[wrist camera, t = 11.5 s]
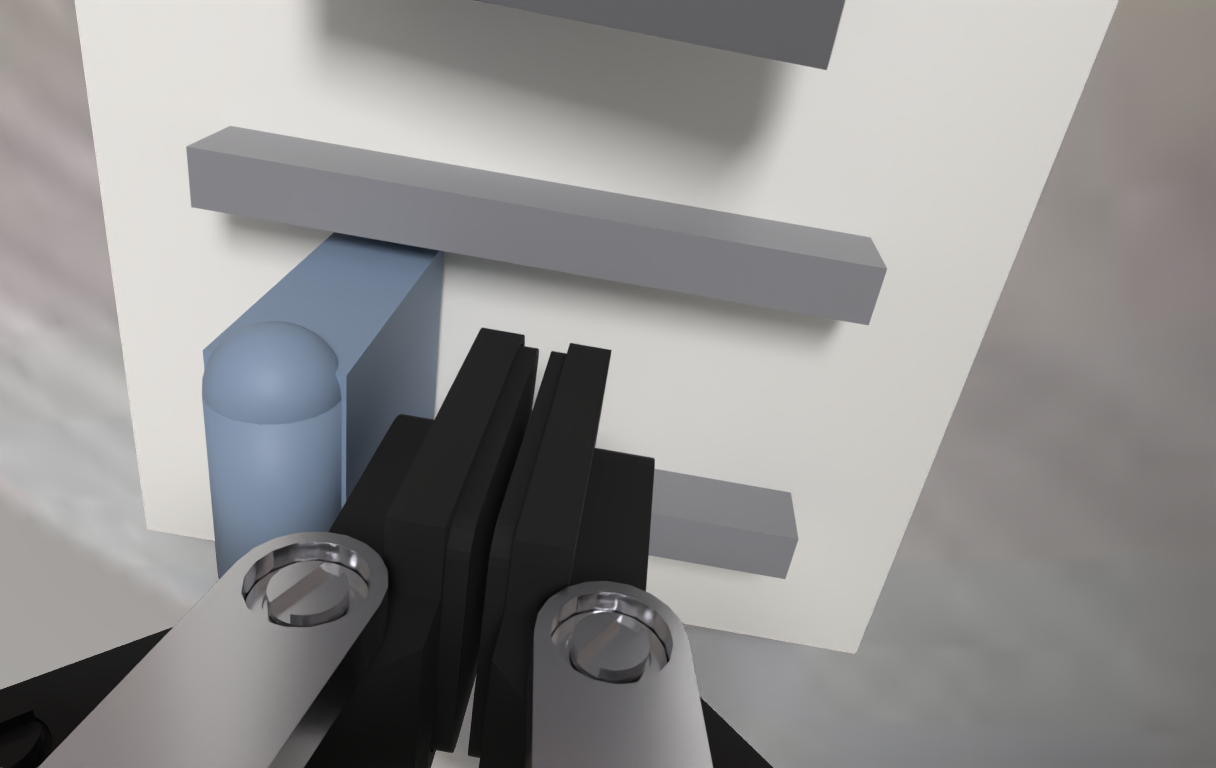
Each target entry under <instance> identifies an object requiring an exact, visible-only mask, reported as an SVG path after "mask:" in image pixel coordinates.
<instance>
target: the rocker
mask: <svg viewBox="0 0 1216 768" xmlns="http://www.w3.org/2000/svg"><path fill="white" fill-rule="evenodd" d="M475 1H480V2H485V3H490V4H495V5H500V6H505V7H510V8H515V9H520V10H525V11H530V12H535V13H540V14H545V15H550V16H556V17H561V18H566V19H571V20H576V21H581V22H586V23H591V24H596V25H601V26H606V27H611V28H616V29H621V30H626V31H631V32H636V33H641V34H646V35H651V36H657V37H662V38H667V39H672V40H677V41H682V42H687V43H692V44H697V45H702V46H707V47H712V48H717V49H722V50H727V51H732V52H737V53H742V54H747V55H752V56H758V57H763V58H768V59H773V60H778V61H783V62H788V63H793V64H798V65H803V66H808V67H813V68H818V69H823V70H827V68H828V65H829V61H830V58H831V55H832V51H833V47H834V43H835V40H836V36H837V32H838V28H839V24H840V20H841V17H842V13H843V9H844V5H845V1H846V0H475Z"/></svg>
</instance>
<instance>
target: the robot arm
mask: <svg viewBox="0 0 1216 768" xmlns="http://www.w3.org/2000/svg"><path fill="white" fill-rule="evenodd" d="M611 351H612V350H609V349H603V348H597V347H591V346H586V345H580V344H574V343H570V345H569V348H568V351H567V353H561V352H555V351H551V354H550V357H549V360H548V363H547V366H546V369H545V372H544V376H543V379H542V382H541V385H540V388H539V391H538V394H537V397H536V400H535V404H534V407H533V399H534V391H535V383H536V375H537V367H538V359H539V349H538V348H532V347H527V346H525V335H522V334H517V333H511V332H505V331H499V330H494V329H488V328H481V329H480V331H479V333H478V335H477V337H476V339H475V341H474V343H473V345H472V347H471V349H470V351H469V352H468V354H467V356H466V358H465V360H464V362H463V364H462V366H461V368H460V370H459V372H458V374H457V376H456V378H455V380H454V382H453V384H452V386H451V388H450V390H449V392H448V394H447V396H446V398H445V400H444V402H443V404H442V406H441V408H440V410H439V412H438V414H437V416H436V417H435V419H434V420H433V419H428V418H422V417H416V416H411V415H405V414H400V415H398V416H397V417H396V418H395V420H394V421H393V423H392V424H391V426H390V428H389V429H388V431H387V433H386V435H385V436H384V438H383V440H382V441H381V443H380V445H379V446H378V448H377V450H376V452H375V453H374V455H373V457H372V458H371V460H370V462H369V464H368V465H367V467H366V469H365V470H364V472H363V474H362V475H361V477H360V479H359V481H358V482H357V484H356V486H355V487H354V489H353V491H352V493H351V494H350V496H349V498H348V499H347V501H346V503H345V504H344V506H343V508H342V510H341V511H340V513H339V515H338V516H337V518H336V520H335V522H334V523H333V525H332V527H331V528H330V530H329V532H299V533H295V534H290V535H286V536H282V537H277V538H274V539H272V540H270V541H268V542H266V543H263V544H261V545H259V546H257V547H255V548H253V549H252V550H251V551H249V552H248V553H247V554H246V555H244V556H243V557H242V558H240V559H239V560H238V561H237V562H236V563H235V564H234V565H233V566H232V567H231V568H230V569H229V570H228V571H227V572H226V573H225V574H224V575H223V576H222V577H221V578H220V579H219V580H218V581H217V582H216V584H215V585H214V586H213V587H212V588H211V589H210V590H209V591H208V592H207V593H206V594H205V595H204V596H203V597H202V598H201V599H200V600H199V601H198V602H197V603H196V604H195V605H194V606H193V607H192V608H191V609H190V610H189V612H188V613H187V614H186V615H185V616H184V617H183V618H182V619H181V620H180V621H179V622H178V623H177V624H176V625H175V626H174V627H172V628H169V629H166V630H164V631H161V632H158V633H155V634H153V635H150V636H147V637H144V638H142V639H139V640H136V641H133V642H131V643H128V644H125V645H122V646H120V647H117V648H114V649H112V650H109V651H106V652H103V653H100V654H98V655H95V656H92V657H89V658H86V659H84V660H81V661H79V662H75V663H73V664H70V665H67V666H64V667H62V668H59V669H56V670H53V671H51V672H48V673H45V674H43V675H40V676H37V677H34V678H31V679H29V680H26V681H23V682H21V683H18V684H15V685H12V686H9V687H7V688H4V689H1V690H0V768H431V765H432V762H433V758H434V755H435V752H436V750H439V751H444V752H450V753H453V752H454V749H455V747H456V743H457V740H458V737H459V733H460V730H461V726H462V722H463V719H464V715H465V712H466V708H467V705H468V701H469V698H470V694H471V691H472V687H473V684H474V680H475V677H476V684H475V693H474V702H473V711H472V721H471V730H470V739H469V748H468V756H473V757H479V758H480V764H479V768H773V767H772V766H771V765H770V764H769V763H768V762H767V761H766V760H765V759H764V758H763V757H762V756H761V755H760V754H758V753H757V752H756V751H755V750H754V749H753V748H752V747H751V746H750V745H749V744H748V743H747V742H746V741H745V740H744V739H743V738H742V737H741V736H740V735H739V734H738V733H737V732H736V731H735V730H734V729H733V728H732V727H731V726H730V725H729V724H728V723H727V722H725V721H724V720H723V719H722V718H721V717H720V716H719V715H718V714H717V713H716V712H715V711H714V710H713V709H712V708H711V707H710V706H709V705H708V704H707V703H706V702H705V701H704V700H703V699H702V698H701V697H700V696H699V691H698V685H697V680H696V675H695V670H694V664H693V659H692V654H691V648H690V643H689V639H688V636H687V634H686V631H685V629H684V626H683V624H682V622H681V620H680V619H679V618H678V617H677V616H676V614H675V613H674V612H673V611H672V610H671V608H670V607H669V606H668V605H666V604H665V603H663V602H662V601H661V600H659V599H658V598H656V597H655V596H654V595H652V594H651V593H648V592H646V585H647V570H648V556H649V542H650V527H651V513H652V498H653V484H654V470H655V459H654V458H651V457H646V456H640V455H634V454H628V453H623V452H617V451H611V450H606V449H600V448H595V445H596V440H597V434H598V428H599V422H600V416H601V410H602V404H603V399H604V393H605V387H606V381H607V375H608V369H609V363H610V358H611ZM532 407H533V410H532ZM476 673H477V675H476Z"/></svg>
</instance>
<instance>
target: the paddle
mask: <svg viewBox="0 0 1216 768" xmlns="http://www.w3.org/2000/svg"><path fill="white" fill-rule="evenodd" d="M443 258H444V251H439V250H434V249H428V248H422V247H416V246H411V245H405V244H399V243H394V242H388V241H382V240H376V239H371V238H365V237H359V236H354V235H348V234H342V233H336V232H334V233H332V234H331V235H330V236H329V237H328V238H327V239H326V240H325V241H324V242H322V243H321V244H320V245H319V246H318V247H317V248H316V249H315V250H314V251H312V252H311V253H310V254H309V255H308V256H307V257H306V258H305V259H304V260H302V261H301V262H300V263H299V264H298V265H297V266H296V267H295V268H294V269H292V270H291V271H290V272H289V273H288V274H287V275H286V276H285V277H284V278H282V279H281V280H280V281H279V282H278V283H277V284H276V285H275V286H274V287H272V288H271V289H270V290H269V291H268V292H267V293H266V294H265V295H264V296H262V297H261V298H260V299H259V300H258V301H257V302H256V303H255V304H254V305H252V306H251V307H250V308H249V309H248V310H247V311H246V312H245V313H244V314H242V315H241V316H240V317H239V318H238V319H237V320H236V321H235V322H234V323H232V324H231V325H230V326H229V327H228V328H227V329H226V330H225V331H224V332H222V333H221V334H220V335H219V336H218V337H217V338H216V339H215V340H214V341H212V342H211V343H210V344H209V345H208V346H207V347H206V348H205V349H204V350H203V360H204V374H203V378H202V402H203V413H204V424H205V435H206V447H207V458H208V469H209V480H210V492H211V503H212V514H213V525H214V536H215V548H216V559H217V570H218V578H219V579H220V578H221V577H222V576H223V575H224V574H225V573H226V572H227V571H228V570H229V569H230V568H231V567H232V566H233V565H234V564H235V563H236V562H237V561H238V560H239V559H240V558H242V557H243V556H244V555H246V554H247V553H248V552H249V551H251V550H252V549H253V548H255V547H257V546H259V545H261V544H263V543H266V542H268V541H270V540H272V539H274V538H277V537H282V536H286V535H290V534H295V533H299V532H329V530H330V528H331V527H332V525H333V523H334V522H335V520H336V518H337V516H338V515H339V513H340V511H341V510H342V508H343V506H344V504H345V503H346V501H347V499H348V498H349V496H350V494H351V493H352V491H353V489H354V487H355V486H356V484H357V482H358V481H359V479H360V477H361V475H362V474H363V472H364V470H365V469H366V467H367V465H368V464H369V462H370V460H371V458H372V457H373V455H374V453H375V452H376V450H377V448H378V446H379V445H380V443H381V441H382V440H383V438H384V436H385V435H386V433H387V431H388V429H389V428H390V426H391V424H392V423H393V421H394V420H395V418H396V417H397V416H398V415H400V414H405V415H411V416H416V417H422V418H428V419H434V403H435V387H436V371H437V355H438V339H439V322H440V306H441V290H442V274H443Z"/></svg>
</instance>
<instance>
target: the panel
mask: <svg viewBox="0 0 1216 768" xmlns="http://www.w3.org/2000/svg"><path fill="white" fill-rule="evenodd" d="M1118 1H1119V0H846V1H845V5H844V9H843V13H842V17H841V20H840V24H839V28H838V32H837V36H836V40H835V43H834V47H833V51H832V55H831V58H830V61H829V65H828V68H827V70H823V69H818V68H813V67H808V66H803V65H798V64H793V63H788V62H783V61H778V60H773V59H768V58H763V57H758V56H752V55H747V54H742V53H737V52H732V51H727V50H722V49H717V48H712V47H707V46H702V45H697V44H692V43H687V42H682V41H677V40H672V39H667V38H662V37H657V36H651V35H646V34H641V33H636V32H631V31H626V30H621V29H616V28H611V27H606V26H601V25H596V24H591V23H586V22H581V21H576V20H571V19H566V18H561V17H556V16H550V15H545V14H540V13H535V12H530V11H525V10H520V9H515V8H510V7H505V6H500V5H495V4H490V3H485V2H480V1H475V0H75V7H76V14H77V21H78V29H79V36H80V43H81V51H82V58H83V65H84V73H85V80H86V87H87V95H88V102H89V109H90V116H91V124H92V131H93V138H94V146H95V153H96V160H97V168H98V175H99V182H100V190H101V197H102V204H103V212H104V219H105V226H106V234H107V241H108V248H109V255H110V263H111V270H112V277H113V285H114V292H115V299H116V307H117V314H118V321H119V329H120V336H121V343H122V351H123V358H124V365H125V372H126V380H127V387H128V394H129V402H130V409H131V416H132V424H133V431H134V438H135V446H136V453H137V460H138V468H139V475H140V482H141V490H142V497H143V504H144V511H145V519H146V526H147V529H149V530H154V531H160V532H166V533H171V534H177V535H183V536H188V537H194V538H200V539H205V540H211V541H215V536H214V525H213V514H212V503H211V492H210V480H209V469H208V458H207V447H206V435H205V424H204V413H203V402H202V378H203V374H204V360H203V350H204V349H205V348H206V347H207V346H208V345H209V344H210V343H211V342H212V341H214V340H215V339H216V338H217V337H218V336H219V335H220V334H221V333H222V332H224V331H225V330H226V329H227V328H228V327H229V326H230V325H231V324H232V323H234V322H235V321H236V320H237V319H238V318H239V317H240V316H241V315H242V314H244V313H245V312H246V311H247V310H248V309H249V308H250V307H251V306H252V305H254V304H255V303H256V302H257V301H258V300H259V299H260V298H261V297H262V296H264V295H265V294H266V293H267V292H268V291H269V290H270V289H271V288H272V287H274V286H275V285H276V284H277V283H278V282H279V281H280V280H281V279H282V278H284V277H285V276H286V275H287V274H288V273H289V272H290V271H291V270H292V269H294V268H295V267H296V266H297V265H298V264H299V263H300V262H301V261H302V260H304V259H305V258H306V257H307V256H308V255H309V254H310V253H311V252H312V251H314V250H315V249H316V248H317V247H318V246H319V245H320V244H321V243H322V242H324V241H325V240H326V239H327V238H328V237H329V236H330V235H331V234H332V233H334V232H336V233H342V234H348V235H354V236H359V237H365V238H371V239H376V240H382V241H388V242H394V243H399V244H405V245H411V246H416V247H422V248H428V249H434V250H439V251H444V258H443V274H442V290H441V306H440V322H439V339H438V355H437V371H436V387H435V403H434V419H435V417H436V416H437V414H438V412H439V410H440V408H441V406H442V404H443V402H444V400H445V398H446V396H447V394H448V392H449V390H450V388H451V386H452V384H453V382H454V380H455V378H456V376H457V374H458V372H459V370H460V368H461V366H462V364H463V362H464V360H465V358H466V356H467V354H468V352H469V351H470V349H471V347H472V345H473V343H474V341H475V339H476V337H477V335H478V333H479V331H480V329H481V328H488V329H494V330H499V331H505V332H511V333H517V334H522V335H525V346H527V347H532V348H538V349H539V359H538V367H537V375H536V383H535V391H534V399H533V407H534V404H535V400H536V397H537V394H538V391H539V388H540V385H541V382H542V379H543V376H544V372H545V369H546V366H547V363H548V360H549V357H550V354H551V351H555V352H561V353H567V351H568V348H569V345H570V343H574V344H580V345H586V346H591V347H597V348H603V349H609V350H612V351H611V358H610V363H609V369H608V375H607V381H606V387H605V393H604V399H603V404H602V410H601V416H600V422H599V428H598V434H597V440H596V445H595V448H600V449H606V450H611V451H617V452H623V453H628V454H634V455H640V456H646V457H651V458H654V459H655V470H654V484H653V498H652V513H651V527H650V542H649V556H648V570H647V585H646V592H648V593H651V594H652V595H654V596H655V597H656V598H658V599H659V600H661V601H662V602H663V603H665V604H666V605H668V606H669V607H670V608H671V610H672V611H673V612H674V613H675V614H676V616H677V617H678V618H679V619H680V620H681V622H682V624H688V625H694V626H699V627H705V628H711V629H716V630H722V631H728V632H733V633H739V634H745V635H750V636H756V637H762V638H767V639H773V640H779V641H784V642H790V643H796V644H802V645H807V646H813V647H819V648H824V649H830V650H836V651H841V652H847V653H853V654H856V652H857V650H858V647H859V645H860V642H861V640H862V637H863V635H864V632H865V630H866V627H867V625H868V622H869V620H870V617H871V615H872V612H873V610H874V607H875V605H876V602H877V600H878V597H879V595H880V592H881V590H882V587H883V585H884V583H885V580H886V578H887V575H888V573H889V570H890V568H891V565H892V563H893V560H894V558H895V555H896V553H897V550H898V548H899V545H900V543H901V540H902V538H903V535H904V533H905V530H906V528H907V525H908V523H909V520H910V518H911V515H912V513H913V510H914V508H915V505H916V503H917V501H918V498H919V496H920V493H921V491H922V488H923V486H924V483H925V481H926V478H927V476H928V473H929V471H930V468H931V466H932V463H933V461H934V458H935V456H936V453H937V451H938V448H939V446H940V443H941V441H942V438H943V436H944V433H945V431H946V428H947V426H948V424H949V421H950V419H951V416H952V414H953V411H954V409H955V406H956V404H957V401H958V399H959V396H960V394H961V391H962V389H963V386H964V384H965V381H966V379H967V376H968V374H969V371H970V369H971V366H972V364H973V361H974V359H975V356H976V354H977V351H978V349H979V346H980V344H981V342H982V339H983V337H984V334H985V332H986V329H987V327H988V324H989V322H990V319H991V317H992V314H993V312H994V309H995V307H996V304H997V302H998V299H999V297H1000V294H1001V292H1002V289H1003V287H1004V284H1005V282H1006V279H1007V277H1008V274H1009V272H1010V269H1011V267H1012V264H1013V262H1014V260H1015V257H1016V255H1017V252H1018V250H1019V247H1020V245H1021V242H1022V240H1023V237H1024V235H1025V232H1026V230H1027V227H1028V225H1029V222H1030V220H1031V217H1032V215H1033V212H1034V210H1035V207H1036V205H1037V202H1038V200H1039V197H1040V195H1041V192H1042V190H1043V187H1044V185H1045V183H1046V180H1047V178H1048V175H1049V173H1050V170H1051V168H1052V165H1053V163H1054V160H1055V158H1056V155H1057V153H1058V150H1059V148H1060V145H1061V143H1062V140H1063V138H1064V135H1065V133H1066V130H1067V128H1068V125H1069V123H1070V120H1071V118H1072V115H1073V113H1074V110H1075V108H1076V105H1077V103H1078V101H1079V98H1080V96H1081V93H1082V91H1083V88H1084V86H1085V83H1086V81H1087V78H1088V76H1089V73H1090V71H1091V68H1092V66H1093V63H1094V61H1095V58H1096V56H1097V53H1098V51H1099V48H1100V46H1101V43H1102V41H1103V38H1104V36H1105V33H1106V31H1107V28H1108V26H1109V23H1110V21H1111V19H1112V16H1113V14H1114V11H1115V9H1116V6H1117V4H1118ZM533 407H532V410H533ZM434 419H433V420H434Z"/></svg>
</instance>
